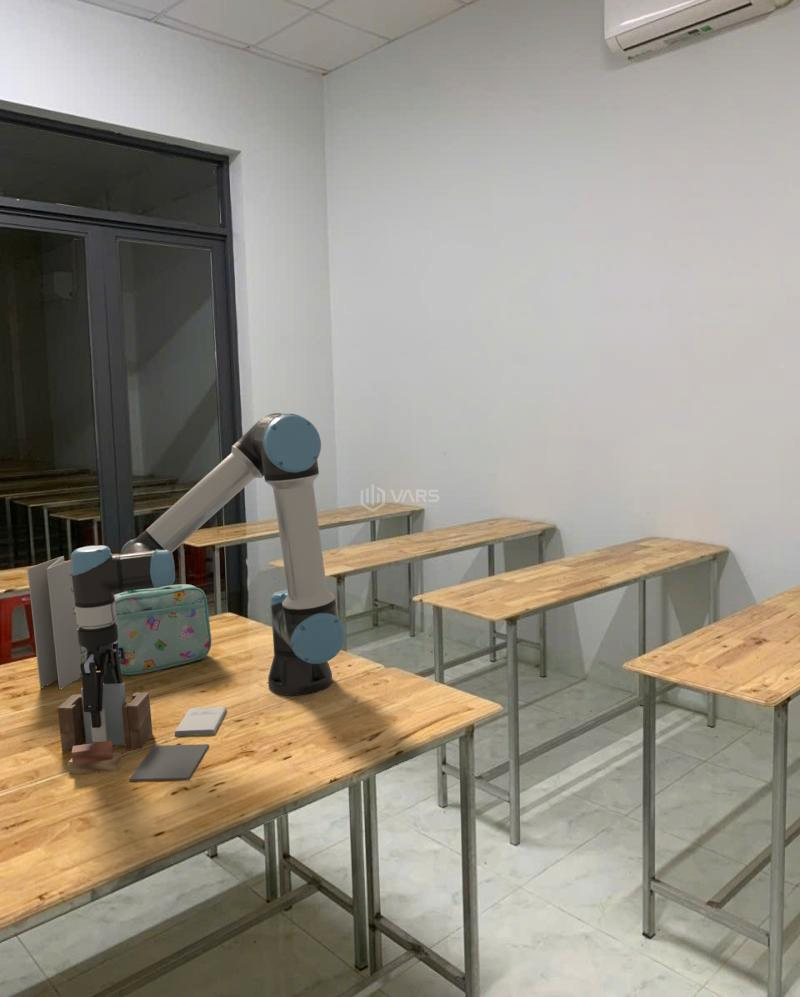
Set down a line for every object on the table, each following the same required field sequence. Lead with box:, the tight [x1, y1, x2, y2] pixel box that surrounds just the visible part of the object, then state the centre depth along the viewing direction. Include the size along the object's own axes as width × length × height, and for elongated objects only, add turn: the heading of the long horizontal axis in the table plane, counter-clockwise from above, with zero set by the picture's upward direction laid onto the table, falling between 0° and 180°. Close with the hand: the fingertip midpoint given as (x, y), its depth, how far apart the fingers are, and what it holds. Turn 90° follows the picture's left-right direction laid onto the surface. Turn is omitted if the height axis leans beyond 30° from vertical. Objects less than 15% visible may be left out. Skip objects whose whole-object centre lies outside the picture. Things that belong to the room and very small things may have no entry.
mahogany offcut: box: [71, 740, 114, 765], centre depth 155 cm, size 7×3×2 cm, turn 107°
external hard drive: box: [174, 706, 227, 737], centre depth 176 cm, size 2×8×12 cm
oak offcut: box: [67, 752, 123, 774], centre depth 156 cm, size 9×3×2 cm, turn 89°
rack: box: [57, 692, 153, 752], centre depth 167 cm, size 16×8×9 cm, turn 88°
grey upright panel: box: [80, 683, 127, 746], centre depth 167 cm, size 8×2×12 cm, turn 88°
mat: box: [128, 743, 210, 782], centre depth 157 cm, size 11×14×1 cm
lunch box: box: [114, 583, 212, 676], centre depth 212 cm, size 27×10×21 cm, turn 120°
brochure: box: [27, 555, 87, 690], centre depth 204 cm, size 14×6×30 cm, turn 168°
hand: (107, 732), depth 167 cm, fingers open, 7 cm apart
